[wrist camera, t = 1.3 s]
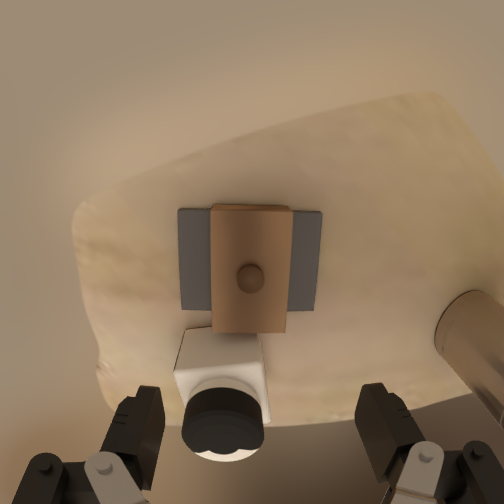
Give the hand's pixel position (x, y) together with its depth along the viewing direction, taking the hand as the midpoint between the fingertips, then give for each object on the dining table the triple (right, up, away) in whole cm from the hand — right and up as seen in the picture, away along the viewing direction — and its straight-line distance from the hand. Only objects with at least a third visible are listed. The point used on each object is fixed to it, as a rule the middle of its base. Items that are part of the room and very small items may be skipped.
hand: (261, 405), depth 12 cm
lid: (-1, +5, +16) cm, 17 cm away
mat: (-1, +5, +17) cm, 18 cm away
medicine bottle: (-3, -4, +20) cm, 21 cm away
